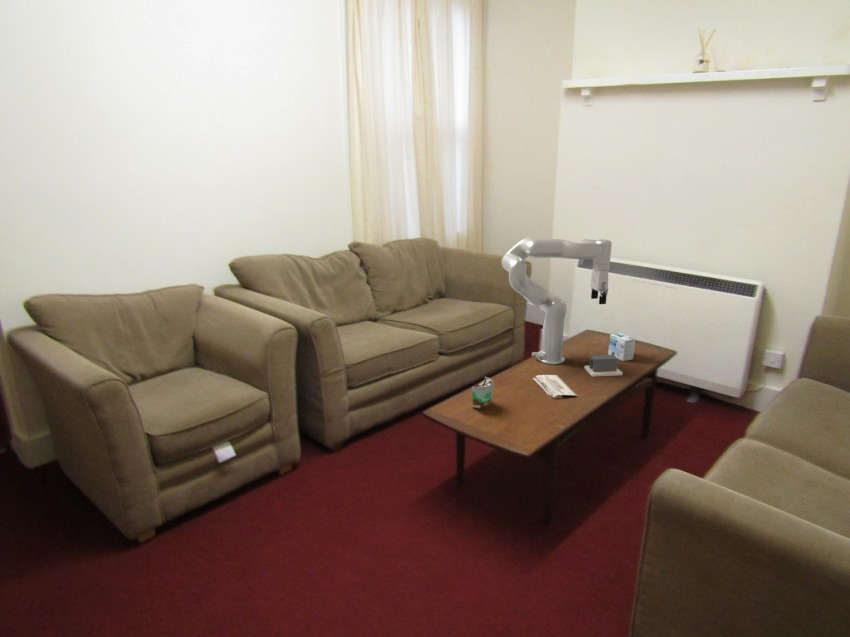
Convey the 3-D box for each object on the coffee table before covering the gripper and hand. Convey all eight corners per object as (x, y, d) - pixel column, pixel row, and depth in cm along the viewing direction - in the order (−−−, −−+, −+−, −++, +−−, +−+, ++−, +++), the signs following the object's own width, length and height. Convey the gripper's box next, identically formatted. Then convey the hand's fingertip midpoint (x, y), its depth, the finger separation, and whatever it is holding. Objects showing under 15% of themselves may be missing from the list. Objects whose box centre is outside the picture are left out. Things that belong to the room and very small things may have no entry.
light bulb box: (607, 354, 282) (609, 333, 278) (618, 352, 284) (620, 332, 281) (623, 361, 272) (625, 340, 269) (633, 359, 275) (636, 338, 272)
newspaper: (531, 379, 254) (532, 374, 254) (557, 380, 257) (557, 375, 256) (550, 401, 233) (551, 395, 232) (577, 401, 235) (578, 396, 235)
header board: (592, 376, 255) (593, 365, 254) (584, 368, 265) (585, 357, 263) (622, 375, 257) (623, 364, 255) (613, 366, 266) (614, 356, 265)
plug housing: (593, 371, 258) (594, 359, 256) (589, 367, 262) (590, 355, 260) (616, 370, 259) (617, 358, 257) (612, 366, 263) (613, 354, 261)
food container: (485, 413, 222) (485, 390, 219) (471, 409, 225) (471, 386, 222) (498, 401, 232) (499, 379, 229) (484, 398, 235) (485, 376, 232)
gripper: (586, 262, 273) (584, 296, 278) (600, 270, 257) (597, 306, 262) (601, 262, 274) (598, 296, 279) (616, 269, 258) (613, 306, 263)
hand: (598, 301), depth 271 cm, fingers open, 9 cm apart
